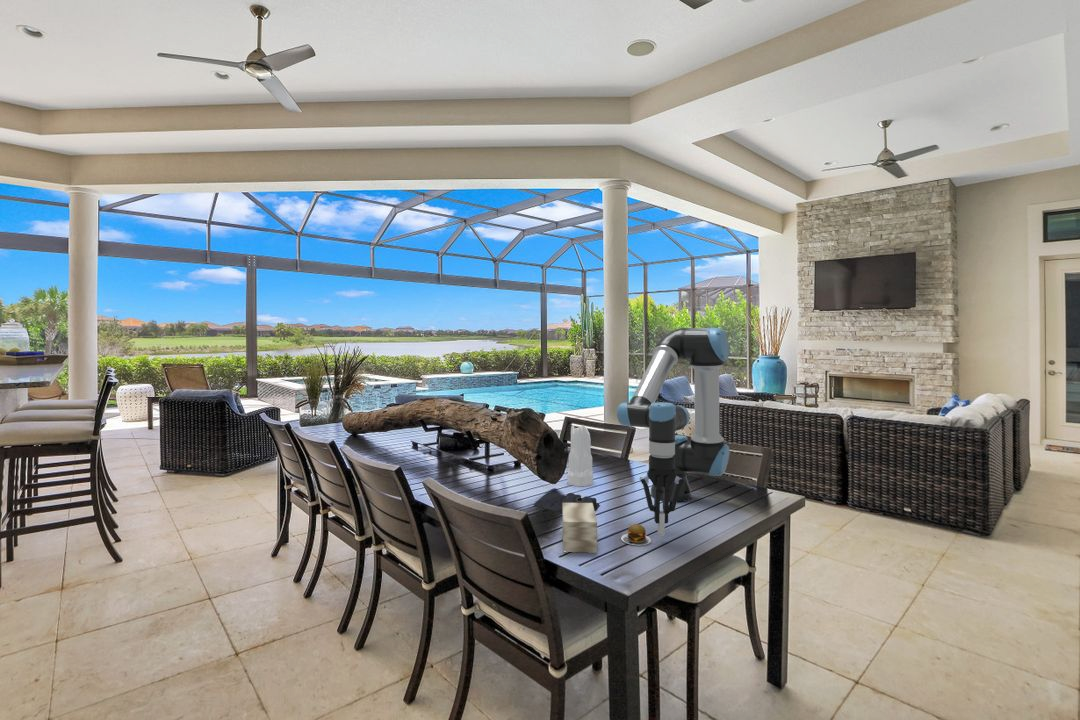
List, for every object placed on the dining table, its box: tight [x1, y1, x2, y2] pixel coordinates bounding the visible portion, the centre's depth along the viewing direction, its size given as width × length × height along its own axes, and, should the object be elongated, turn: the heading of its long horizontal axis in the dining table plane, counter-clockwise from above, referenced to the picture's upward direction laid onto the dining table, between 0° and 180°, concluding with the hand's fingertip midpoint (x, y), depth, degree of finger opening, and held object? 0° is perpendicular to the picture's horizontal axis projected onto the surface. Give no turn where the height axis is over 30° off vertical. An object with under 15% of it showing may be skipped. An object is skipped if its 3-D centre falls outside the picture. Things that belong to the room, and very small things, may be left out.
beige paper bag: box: [561, 503, 598, 554], centre depth 151 cm, size 10×17×9 cm, turn 178°
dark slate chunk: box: [533, 492, 601, 514], centre depth 183 cm, size 15×22×5 cm
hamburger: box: [620, 523, 652, 547], centre depth 152 cm, size 12×12×6 cm
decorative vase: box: [567, 424, 594, 487], centre depth 213 cm, size 11×11×25 cm
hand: (661, 533), depth 151 cm, fingers closed
